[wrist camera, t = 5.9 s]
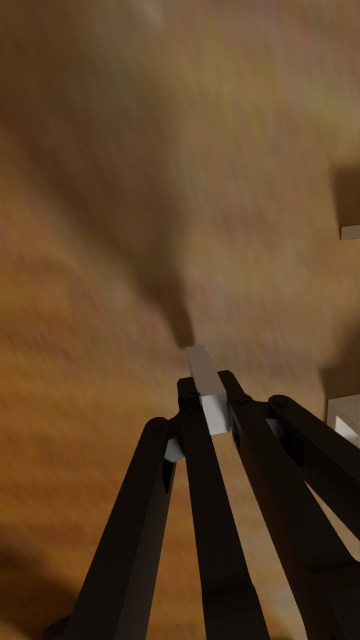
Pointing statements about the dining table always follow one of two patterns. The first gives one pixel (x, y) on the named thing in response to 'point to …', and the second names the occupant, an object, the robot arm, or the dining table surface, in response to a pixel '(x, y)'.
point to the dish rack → (352, 411)
